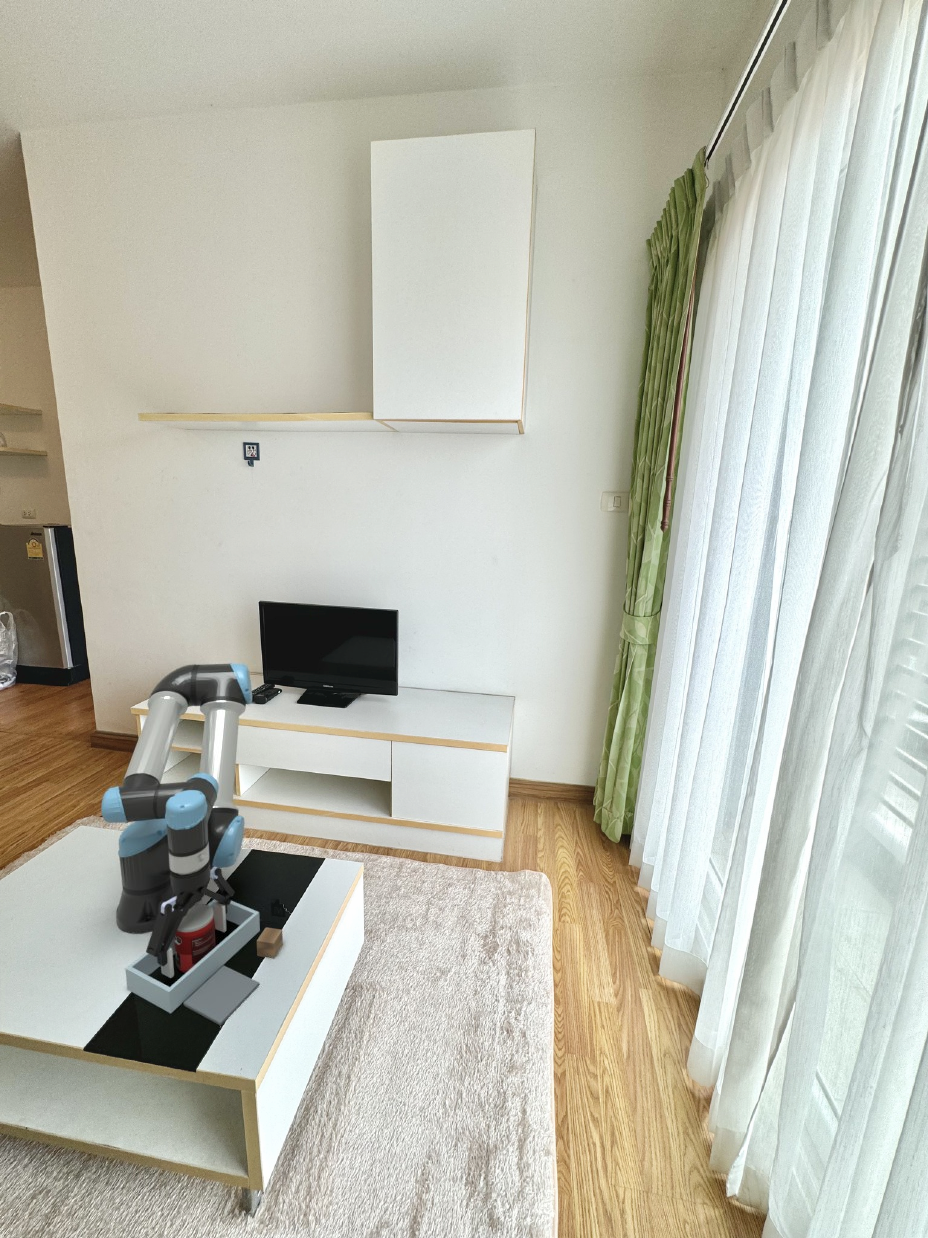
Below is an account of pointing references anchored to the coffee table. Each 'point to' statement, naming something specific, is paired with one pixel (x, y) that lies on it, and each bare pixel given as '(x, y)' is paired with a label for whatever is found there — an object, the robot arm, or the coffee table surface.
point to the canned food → (194, 937)
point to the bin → (197, 974)
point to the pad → (221, 995)
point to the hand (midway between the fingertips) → (195, 951)
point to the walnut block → (269, 943)
